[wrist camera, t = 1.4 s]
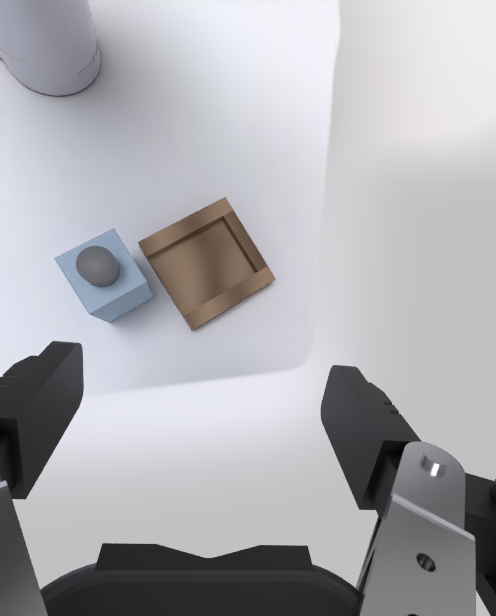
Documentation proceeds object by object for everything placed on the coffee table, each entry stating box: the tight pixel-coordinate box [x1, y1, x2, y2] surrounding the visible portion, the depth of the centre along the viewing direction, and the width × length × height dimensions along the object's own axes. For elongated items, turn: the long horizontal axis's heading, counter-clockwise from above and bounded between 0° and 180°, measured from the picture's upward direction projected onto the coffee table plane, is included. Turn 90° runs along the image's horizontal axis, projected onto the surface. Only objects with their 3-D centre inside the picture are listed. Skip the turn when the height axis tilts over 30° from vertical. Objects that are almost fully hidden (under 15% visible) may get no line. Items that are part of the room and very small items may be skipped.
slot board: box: [138, 197, 275, 331], centre depth 36 cm, size 10×10×2 cm
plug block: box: [54, 229, 153, 323], centre depth 29 cm, size 5×5×10 cm
